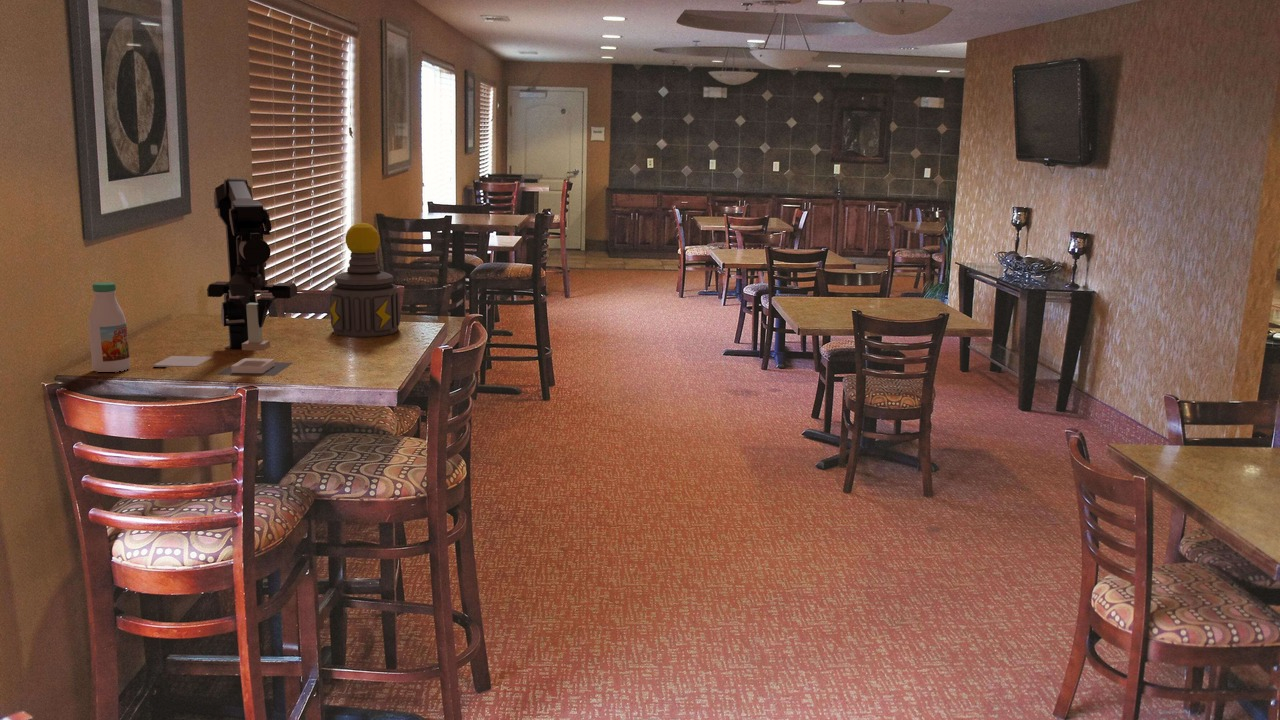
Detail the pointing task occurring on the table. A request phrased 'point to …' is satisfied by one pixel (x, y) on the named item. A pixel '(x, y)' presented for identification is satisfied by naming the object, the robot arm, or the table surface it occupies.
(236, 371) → the tile
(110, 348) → the milk bottle
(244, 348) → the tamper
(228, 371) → the mat
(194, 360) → the pad
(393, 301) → the decorative lamp
